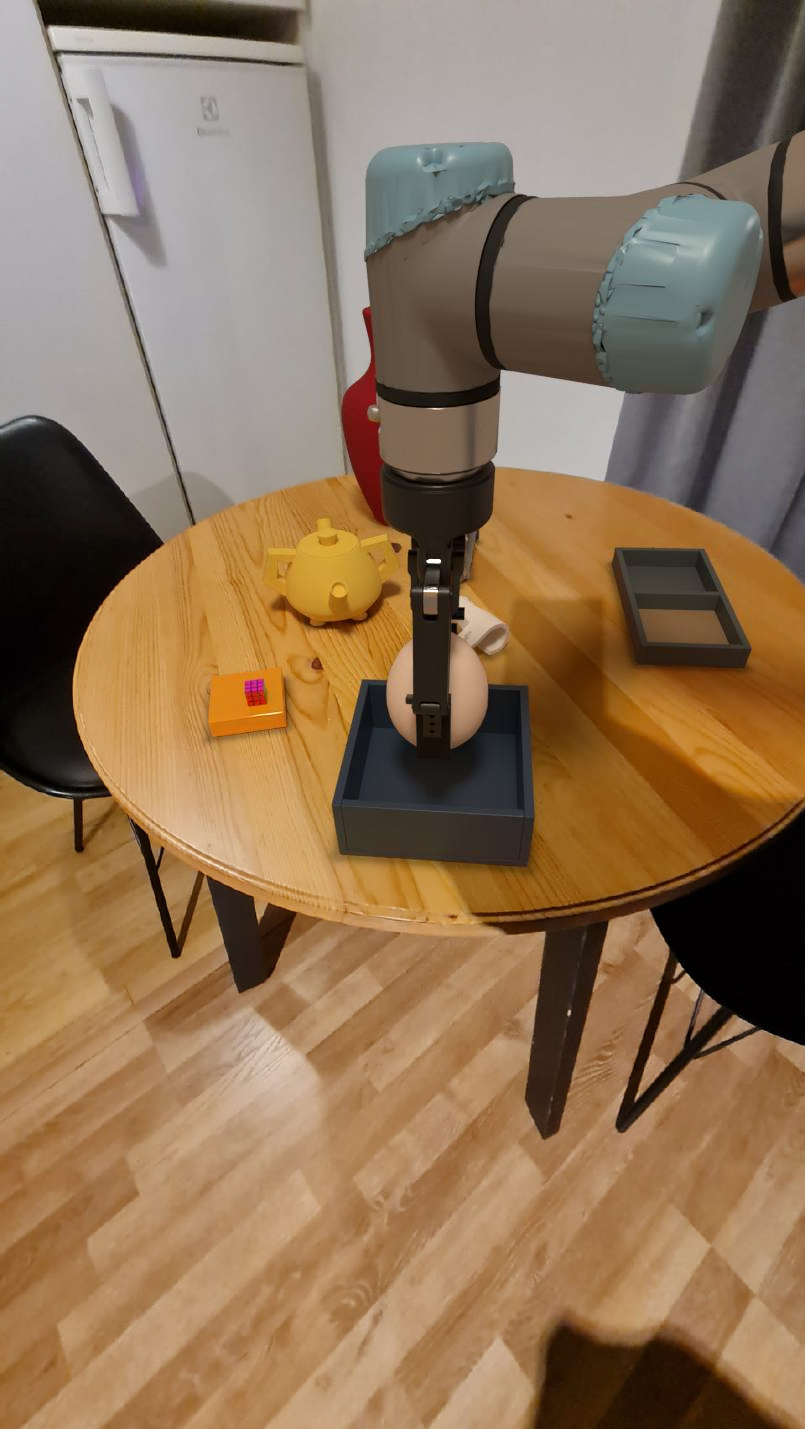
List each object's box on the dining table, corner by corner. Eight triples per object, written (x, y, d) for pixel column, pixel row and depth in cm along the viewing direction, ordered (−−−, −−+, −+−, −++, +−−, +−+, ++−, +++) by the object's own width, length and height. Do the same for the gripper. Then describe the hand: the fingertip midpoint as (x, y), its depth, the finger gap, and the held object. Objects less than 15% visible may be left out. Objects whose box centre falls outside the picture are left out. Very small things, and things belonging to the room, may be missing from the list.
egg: (482, 707, 62) (488, 605, 55) (488, 774, 56) (496, 669, 48) (391, 707, 63) (384, 606, 55) (387, 775, 56) (379, 671, 49)
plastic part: (508, 647, 81) (516, 563, 73) (443, 677, 77) (445, 591, 69) (469, 619, 85) (474, 537, 77) (407, 646, 81) (405, 562, 73)
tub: (522, 734, 69) (528, 685, 64) (527, 867, 57) (534, 817, 52) (367, 727, 71) (362, 678, 66) (339, 854, 59) (331, 805, 54)
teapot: (415, 640, 82) (413, 561, 75) (272, 660, 80) (255, 581, 73) (388, 563, 97) (384, 490, 89) (267, 579, 95) (252, 505, 87)
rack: (699, 566, 93) (704, 548, 91) (744, 668, 76) (752, 648, 74) (611, 564, 94) (615, 547, 92) (636, 664, 77) (641, 645, 75)
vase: (376, 548, 101) (361, 326, 80) (336, 512, 110) (313, 306, 90) (457, 524, 106) (462, 309, 85) (412, 492, 115) (407, 292, 95)
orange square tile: (212, 737, 71) (202, 708, 68) (215, 690, 76) (207, 662, 74) (286, 727, 71) (280, 697, 68) (284, 681, 77) (278, 652, 74)
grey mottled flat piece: (452, 540, 102) (453, 455, 93) (479, 542, 101) (483, 456, 92) (435, 591, 91) (434, 500, 82) (466, 593, 90) (468, 502, 81)
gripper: (398, 405, 50) (407, 643, 66) (352, 537, 35) (378, 809, 50) (496, 405, 50) (482, 646, 65) (495, 539, 34) (477, 815, 49)
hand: (437, 717), depth 57 cm, fingers closed on egg, 9 cm apart
